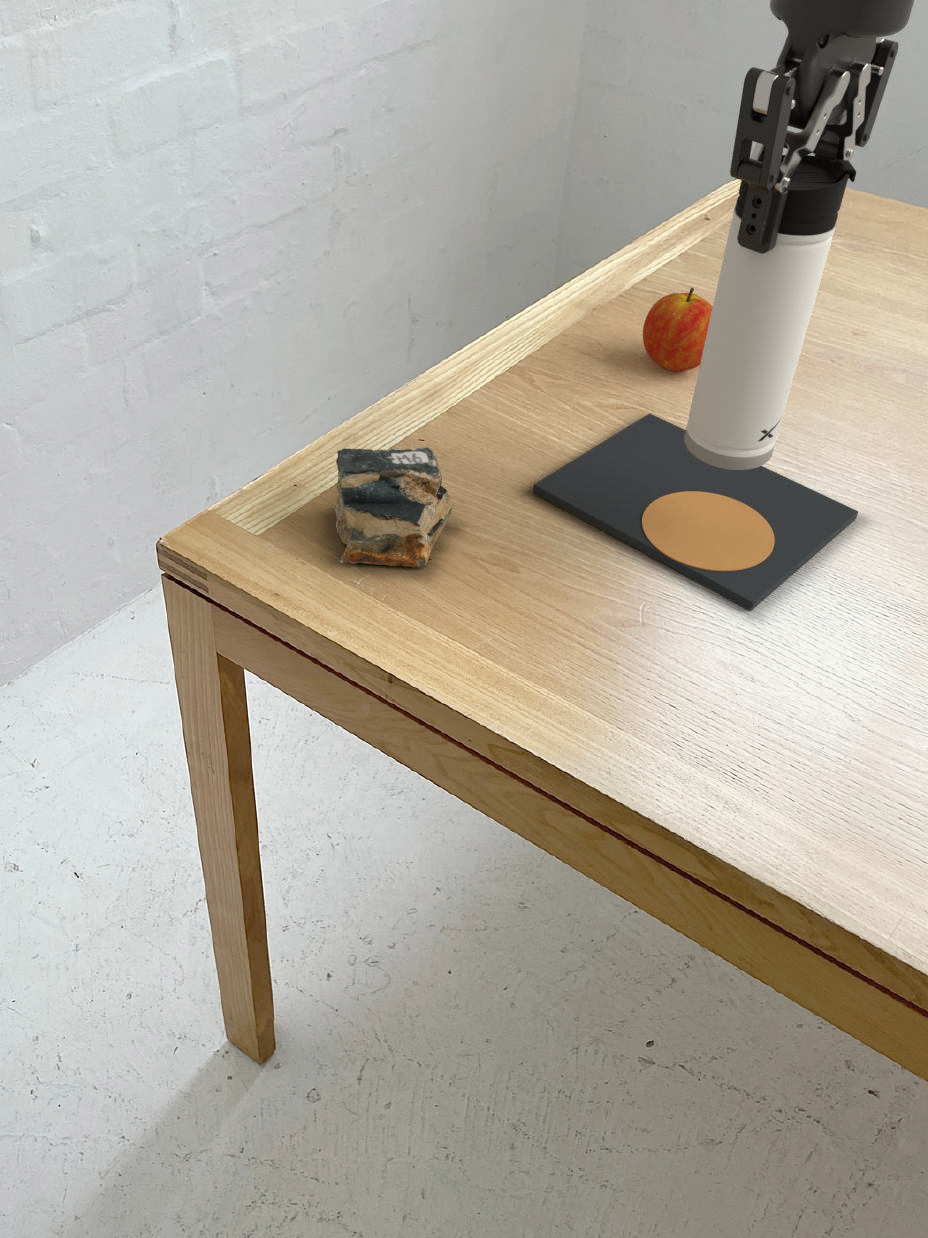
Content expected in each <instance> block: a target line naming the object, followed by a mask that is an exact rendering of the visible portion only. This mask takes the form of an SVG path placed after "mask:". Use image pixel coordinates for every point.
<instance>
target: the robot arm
mask: <svg viewBox="0 0 928 1238" xmlns="http://www.w3.org/2000/svg"><path fill="white" fill-rule="evenodd" d="M914 3H915V0H770V1H769V8H770V12H771V14H772V15H773V16H774V18H776V19H777V20H779V21H782V22H783V23H784V25H785V26H786V28H787V36H786V39H785V41H784V44H783V47H782V49H781V51H780V54H779V56H778V58H777V61H776V64H775V67H773V68H772V69H770V70H767V69H763V68H759V67H755V66H752V67H750V68H749V69H748V70H747V72H746V73H745V74H746V75H745V76H744V81H743V88H742V93H741V99H740V106H739V111H738V117H737V125H736V130H735V137H734V145H733V151H732V156H731V163H730V169H729V175H730V177H731V178H734V179H737V180H740V181H741V180H743V181H746V182H748V185H749V188H748V192H747V197H746V201H745V205H744V210H743V214H742V219H741V223H740V228H739V232H738V237H737V240H738V243H739V244H740V246H742V247H744V248H747V249H750V250H753V251H755V252H758V253H761V254H764V253H766V252H768V251H770V250H772V249H773V248H774V246H775V243H776V239H777V235H778V231H779V227H780V223H781V219H782V215H783V211H784V207H785V203H786V199H787V194H788V191H786V190H787V189H788V187H789V185H790V183H791V181H792V179H793V176H794V174H795V172H796V170H797V168H798V165H799V163H800V161H801V159H802V157H803V156H805V155H811V154H813V155H814V156H818V157H823V158H827V159H831V160H834V161H836V160H848V161H849V162H851V159H852V158H853V156H854V154H855V150H856V147H859V148H864V147H865V146H866V145H867V144H868V142H869V141H870V138H871V134H872V132H873V128H874V125H875V122H876V119H877V116H878V113H879V110H880V107H881V104H882V102H883V101H882V100H883V97H884V94H885V91H886V89H887V84H888V82H889V79H890V77H891V73H892V70H893V67H894V63H895V62H896V61H895V60H896V57H897V55H898V53H899V46H900V45H899V41H894V40H891V39H888V38H885V37H889V36H893V35H895V34H898V33H899V32H902V31H903V29H905V28H906V26H907V25H908V23H909V21H910V17H911V13H912V11H913V6H914ZM788 127H791V128H795V129H796V130H797V129H798V130H801V131H800V132H794V131H791V130H788ZM753 142H754V143H756V144H755V146H754V149H753V151H752V147H753ZM784 149H787V151H786V153H785V154H783V153H784ZM751 152H752V154H751ZM782 155H785V158H784V160H783V162H782V164H781V159H782ZM780 165H781V167H780Z"/></svg>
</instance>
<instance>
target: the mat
mask: <svg viewBox="0 0 928 1238" xmlns="http://www.w3.org/2000/svg"><path fill="white" fill-rule="evenodd" d="M685 432H686V429H684V428H682V427H680V426H678V425H676V424H674V423H671V422H669V421H667V420H665V419H663V418H661V417H659V416H657V415H654V414H652V413H648V414H646V415H645V416H643V417H641V418H640V419H638V420H636V421H634V422H633V423H631V424H630V425H628V426H627V427H625V428H623V429H622V430H619V432H617V433H615V434H613V435H612V436H610V437H609V438H607V439H605V440H604V441H602V442H600V443H599V444H596V446H594V447H592V448H591V449H589V450H588V451H586V452H584V453H583V454H581V455H579V456H577V457H576V458H574V459H573V460H571V461H570V462H568V463H566V464H564V465H563V466H562V467H560V468H558V469H556V470H554V471H553V472H552V473H550V474H549V475H547V476H545V477H543V478H542V479H540V480H539V481H537V482H536V483H534V484H533V488H532V493H533V494H535V495H537V496H538V497H540V498H541V499H544V500H546V502H547V501H548V502H549V503H551V504H552V505H555V506H557V507H558V508H560V509H562V510H564V511H565V512H568V513H569V514H571V515H573V516H575V517H576V518H579V519H580V520H582V521H584V522H586V523H588V524H590V525H591V526H593V527H595V528H596V529H599V530H601V531H603V532H604V533H606V534H608V535H610V536H611V537H614V538H615V539H618V540H619V541H621V542H623V543H625V544H627V545H628V546H630V547H632V548H634V549H636V550H638V551H639V552H641V553H643V554H645V555H647V556H649V557H651V558H652V559H654V560H656V561H658V562H660V563H661V564H663V565H665V566H667V567H669V568H671V569H673V570H674V571H676V572H679V573H680V574H681V575H684V576H686V577H687V578H689V579H691V580H693V581H695V582H697V583H698V584H700V585H702V586H704V587H706V588H708V589H709V590H711V591H713V592H715V593H717V594H719V595H721V596H722V597H723V598H726V599H728V600H730V601H732V602H733V603H736V604H737V605H739V606H741V607H743V608H744V609H746V610H748V611H749V612H752V611H753V610H754V609H755V608H757V606H759V605H760V604H761V603H762V602H763V601H765V600H766V599H767V598H768V597H769V596H770V595H771V594H772V593H774V592H775V591H776V590H778V588H780V586H781V585H783V584H784V583H785V582H786V581H787V580H788V579H790V578H791V577H792V576H793V575H794V574H796V572H798V571H799V570H801V568H802V567H803V566H804V565H806V564H807V563H808V562H809V561H810V560H812V559H813V557H815V556H816V555H817V554H818V553H819V552H820V551H822V550H823V549H824V548H825V547H826V546H827V545H828V544H829V543H831V542H832V541H833V540H834V539H835V538H836V537H837V536H838V535H840V534H841V533H842V532H843V531H845V529H847V528H848V527H849V526H850V525H851V524H852V523H853V522H854V521H856V520H857V517H858V515H859V510H857V509H854V508H853V507H849V506H848V505H846V504H844V503H842V502H839V501H837V500H835V499H833V498H831V497H829V496H827V495H825V494H822V493H820V492H818V491H816V490H814V489H812V488H810V487H808V486H805V485H804V484H801V483H799V482H797V481H795V480H792V479H790V478H789V477H786V476H784V475H782V474H781V473H778V472H775V471H773V470H771V469H769V468H767V467H765V466H764V465H762V466H759V467H757V468H753V469H748V470H729V469H723V468H718V467H715V466H712V465H709V464H707V463H705V462H703V461H701V460H700V459H698V458H697V457H695V456H694V455H693V454H692V453H691V452H690V451H689V450H688V449H687V447H686V444H685V441H684V436H685Z"/></svg>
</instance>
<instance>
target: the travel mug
mask: <svg viewBox="0 0 928 1238" xmlns="http://www.w3.org/2000/svg"><path fill="white" fill-rule="evenodd" d="M785 155H786V154H782V159H781V164H782V162H783V160H784V158H785ZM780 167H781V165H780ZM856 176H857V170H856V169H855V167H854V166H853V165H852V163H851V161H848V160H836V161H834V160H831V159H827V158H823V157H818V156H815V155H811V154H809V155H805V156H803V157H802V159H801V161H800V163H799V165H798V168H797V170H796V172H795V174H794V176H793V179H792V181H791V183H790V185H789V187H788V189H787V190H786V191H788V194H787V199H786V203H785V207H784V211H783V215H782V219H781V223H780V227H779V231H778V235H777V239H776V243H775V246H774V248H773V249H772V250H770V251H768V252H766V253H764V254H761V253H758V252H755V251H753V250H750V249H747V248H744V247H742V246H740V244H739V243H738V240H737V237H738V232H739V228H740V223H741V219H742V214H743V210H744V205H745V201H746V197H747V192H748V188H749V185H748V182H746V181H743V180H740V185H739V188H738V197H737V199H736V203H735V205H734V208H733V212H732V219H731V222H730V225H729V231H728V235H727V240H726V244H725V249H724V253H723V259H722V262H721V267H720V272H719V277H718V281H717V285H716V291H715V295H714V300H713V304H712V306H713V308H712V313H711V317H710V322H709V326H708V331H707V336H706V340H705V345H704V349H703V354H702V358H701V363H700V365H699V367H698V371H697V372H698V373H697V377H696V381H695V388H694V391H693V395H692V400H691V403H690V409H689V413H688V420H687V422H686V423H687V424H686V427H685V430H686V432H685V436H684V441H685V444H686V447H687V449H688V450H689V451H690V452H691V453H692V454H693V455H694V456H695V457H697V458H698V459H700V460H701V461H703V462H705V463H707V464H709V465H712V466H715V467H718V468H723V469H729V470H748V469H753V468H757V467H759V466H764V465H765V464H766V463H768V462H769V461H770V459H771V458H772V456H773V453H774V450H775V446H776V441H777V437H778V435H779V432H780V428H781V425H782V420H783V417H784V413H785V410H786V406H787V403H788V400H789V396H790V392H791V390H792V384H793V381H794V378H795V374H796V371H797V367H798V363H799V360H800V356H801V353H802V350H803V346H804V342H805V339H806V335H807V331H808V328H809V324H810V322H811V321H810V320H811V317H812V314H813V311H814V306H815V304H816V300H817V295H818V292H819V289H820V285H821V281H822V277H823V274H824V270H825V267H826V264H827V260H828V256H829V253H830V249H831V246H832V242H833V238H834V237H833V235H834V233H835V231H836V228H837V221H838V216H839V212H840V210H841V207H842V203H843V199H844V196H845V191H846V188H847V185H848V181H849V180H850V182H852V183H854V182H855V179H856Z"/></svg>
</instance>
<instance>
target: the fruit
mask: <svg viewBox="0 0 928 1238" xmlns="http://www.w3.org/2000/svg"><path fill="white" fill-rule="evenodd" d="M694 291H695V288H694V287H690V289H689V292H675V293H670V294H667V295H664V296H662V297H661V298H659V299H658V300H657V301H656V302H655V303H654V304H653V305H652V306H651V307H650V309H649V311H648V313H647V315H646V317H645V320H644V322H643V326H642V342H643V346H644V349H645V351H646V353H647V355H648V356H649V357H650V359H651V360H652V361H653V362H654V363H656V364H657V365H658V366H659V367H661V368H662V369H664V370H666V371H671V372H675V373H683V372H686V371H689V370H692V369H694V368H697V367H700V363H701V358H702V354H703V349H704V345H705V340H706V336H707V331H708V326H709V322H710V317H711V313H712V308H713V304H711V303H710V302H709V301H707V300H706V299H704V298H703V297H702V296H700V295H698V294H696V293H693V292H694Z"/></svg>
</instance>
